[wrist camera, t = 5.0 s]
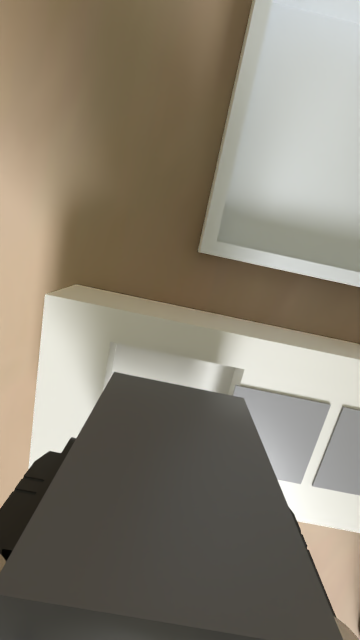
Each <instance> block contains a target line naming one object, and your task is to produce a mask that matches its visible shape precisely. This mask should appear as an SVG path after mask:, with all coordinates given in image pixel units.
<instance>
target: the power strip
mask: <svg viewBox="0 0 360 640" xmlns="http://www.w3.org/2000/svg"><path fill="white" fill-rule="evenodd" d="M114 372H118V373H123V374H128V375H133V376H138V377H143V378H148V379H153V380H157V381H162V382H167V383H172V384H177V385H182V386H187V387H192V388H197V389H202V390H207V391H212V392H217V393H222V394H227V395H232V396H237V397H242V398H244V400H245V402H246V404H247V407H248V409H249V412H250V414H251V417H252V419H253V421H254V424H255V426H256V429H257V431H258V434H259V436H260V439H261V441H262V443H263V446H264V448H265V451H266V453H267V456H268V458H269V460H270V463H271V465H272V468H273V470H274V473H275V475H276V477H277V480H278V482H279V485H280V487H281V490H282V492H283V494H284V497H285V499H286V502H287V504H288V507H289V508H290V509H291V510H292V512H293V513H294V515H295V518H296V520H297V521H299V522H304V523H309V524H315V525H320V526H325V527H331V528H336V529H341V530H347V531H352V532H357V533H360V344H358V343H353V342H348V341H343V340H339V339H334V338H329V337H324V336H320V335H315V334H310V333H305V332H301V331H296V330H291V329H286V328H282V327H277V326H272V325H267V324H263V323H258V322H253V321H248V320H244V319H239V318H234V317H229V316H225V315H220V314H215V313H210V312H206V311H201V310H196V309H191V308H187V307H182V306H177V305H172V304H168V303H163V302H158V301H153V300H149V299H144V298H139V297H134V296H129V295H125V294H120V293H115V292H110V291H106V290H101V289H96V288H91V287H87V286H82V285H77V284H76V285H73V286H70V287H66V288H63V289H60V290H57V291H54V292H50V293H47V294H45V301H44V311H43V322H42V332H41V343H40V353H39V364H38V375H37V385H36V396H35V406H34V417H33V428H32V438H31V449H30V459H29V468H30V467H31V465H32V464H33V463H34V461H36V460H37V459H39V458H40V457H41V456H43V455H44V454H46V453H47V452H49V451H53V452H58V453H61V452H62V451H63V449H64V448H65V446H66V444H67V443H68V441H69V440H70V438H71V437H73V438H77V436H78V434H79V433H80V431H81V429H82V427H83V426H84V424H85V422H86V420H87V419H88V417H89V415H90V413H91V412H92V410H93V408H94V406H95V405H96V403H97V401H98V399H99V397H100V396H101V394H102V392H103V390H104V389H105V387H106V385H107V383H108V382H109V380H110V378H111V376H112V375H113V373H114Z"/></svg>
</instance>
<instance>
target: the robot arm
mask: <svg viewBox="0 0 360 640" xmlns="http://www.w3.org/2000/svg"><path fill="white" fill-rule="evenodd" d="M75 440H76V438H73V437H71V438H70V440H69V441H68V443H67V444H66V446H65V448H64V449H63V451H62V452H61V453H58V452H53V451H49V452H47V453H46V454H44V455H43V456H41V457H40V458H39V459H37V460H36V461H34V463H33V464H32V465H31V467H30V468H29V470H28V471H27V472H26V474H25V475H24V478H23V479H21V481H20V482H19V484H18V485H17V486H16V488H15V490H14V492H12V493H11V495H10V496H9V497H8V499H7V500H6V502H5V503H4V504H3V506H2V507H1V509H0V572H1V570H2V568H3V567H4V565H5V563H6V561H7V560H8V558H9V556H10V554H11V553H12V551H13V549H14V547H15V546H16V544H17V542H18V540H19V538H20V537H21V535H22V533H23V531H24V530H25V528H26V526H27V524H28V523H29V521H30V519H31V517H32V516H33V514H34V512H35V510H36V509H37V507H38V505H39V503H40V501H41V500H42V498H43V496H44V494H45V493H46V491H47V489H48V487H49V486H50V484H51V482H52V480H53V479H54V477H55V475H56V473H57V471H58V470H59V468H60V466H61V464H62V463H63V461H64V459H65V457H66V456H67V454H68V452H69V450H70V449H71V447H72V445H73V443H74V442H75ZM289 509H290V508H289ZM290 511H291V514H292V516H293V519H294V521H295V524H296V526H297V528H298V531H299V533H300V536H301V538H302V541H303V543H304V545H305V548H306V550H307V545H306V542H305V540H304V537H303V535H302V534H301V530H300V527H299V525H298V523H297V520H296V518H295V515H294V513H293V512H292V510H291V509H290ZM307 553H308V555H309V558H310V560H311V562H312V565H313V567H314V570H315V572H316V575H317V577H318V579H319V582H320V584H321V587H322V589H323V592H324V594H325V597H326V599H327V601H328V604H329V606H330V609H331V611H332V614H333V616H334V618H335V621H336V623H337V626H338V628H339V631H340V633H341V635H342V638H343V640H359V639H358V638H357V636H356V635H355V634H354V633H353V632H352V631H351V630H350V629H349V628H348V627H347V626H346V625H345V624H344V623H343V622H341V621H340V620H339V619H337V618H336V615H335V613H334V611H333V609H332V606H331V604H330V601H329V599H328V596H327V594H326V591H325V589H324V586H323V584H322V582H321V579H320V577H319V574H318V572H317V569H316V567H315V564H314V562H313V559H312V557H311V555H310V552H309V550H307Z"/></svg>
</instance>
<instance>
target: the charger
mask: <svg viewBox="0 0 360 640" xmlns="http://www.w3.org/2000/svg"><path fill="white" fill-rule="evenodd" d="M0 640H343V638H342V635H341V633H340V631H339V628H338V626H337V623H336V621H335V618H334V616H333V614H332V611H331V609H330V606H329V604H328V601H327V599H326V597H325V594H324V592H323V589H322V587H321V584H320V582H319V579H318V577H317V575H316V572H315V570H314V567H313V565H312V562H311V560H310V558H309V555H308V553H307V550H306V548H305V545H304V543H303V541H302V538H301V536H300V533H299V531H298V528H297V526H296V524H295V521H294V519H293V516H292V514H291V511H290V509H289V507H288V504H287V502H286V499H285V497H284V494H283V492H282V490H281V487H280V485H279V482H278V480H277V477H276V475H275V473H274V470H273V468H272V465H271V463H270V460H269V458H268V456H267V453H266V451H265V448H264V446H263V443H262V441H261V439H260V436H259V434H258V431H257V429H256V426H255V424H254V421H253V419H252V417H251V414H250V412H249V409H248V407H247V404H246V402H245V400H244V398H242V397H237V396H232V395H227V394H222V393H217V392H212V391H207V390H202V389H197V388H192V387H187V386H182V385H177V384H172V383H167V382H162V381H157V380H153V379H148V378H143V377H138V376H133V375H128V374H123V373H118V372H114V373H113V375H112V376H111V378H110V380H109V382H108V383H107V385H106V387H105V389H104V390H103V392H102V394H101V396H100V397H99V399H98V401H97V403H96V405H95V406H94V408H93V410H92V412H91V413H90V415H89V417H88V419H87V420H86V422H85V424H84V426H83V427H82V429H81V431H80V433H79V434H78V436H77V438H76V440H75V442H74V443H73V445H72V447H71V449H70V450H69V452H68V454H67V456H66V457H65V459H64V461H63V463H62V464H61V466H60V468H59V470H58V471H57V473H56V475H55V477H54V479H53V480H52V482H51V484H50V486H49V487H48V489H47V491H46V493H45V494H44V496H43V498H42V500H41V501H40V503H39V505H38V507H37V509H36V510H35V512H34V514H33V516H32V517H31V519H30V521H29V523H28V524H27V526H26V528H25V530H24V531H23V533H22V535H21V537H20V538H19V540H18V542H17V544H16V546H15V547H14V549H13V551H12V553H11V554H10V556H9V558H8V560H7V561H6V563H5V565H4V567H3V568H2V570H1V572H0Z"/></svg>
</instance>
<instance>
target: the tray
mask: <svg viewBox="0 0 360 640" xmlns="http://www.w3.org/2000/svg"><path fill="white" fill-rule="evenodd" d="M197 252H200V253H205V254H209V255H214V256H218V257H223V258H228V259H232V260H237V261H241V262H246V263H251V264H255V265H260V266H265V267H269V268H274V269H278V270H283V271H288V272H292V273H297V274H301V275H306V276H311V277H315V278H320V279H324V280H329V281H334V282H338V283H343V284H347V285H352V286H357V287H360V0H252V5H251V10H250V14H249V19H248V23H247V28H246V32H245V37H244V41H243V46H242V51H241V55H240V60H239V64H238V69H237V73H236V78H235V83H234V87H233V92H232V96H231V101H230V105H229V110H228V114H227V119H226V124H225V128H224V133H223V137H222V142H221V146H220V151H219V155H218V160H217V165H216V169H215V174H214V178H213V183H212V187H211V192H210V197H209V201H208V206H207V210H206V215H205V219H204V224H203V228H202V233H201V238H200V242H199V247H198V251H197Z"/></svg>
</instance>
